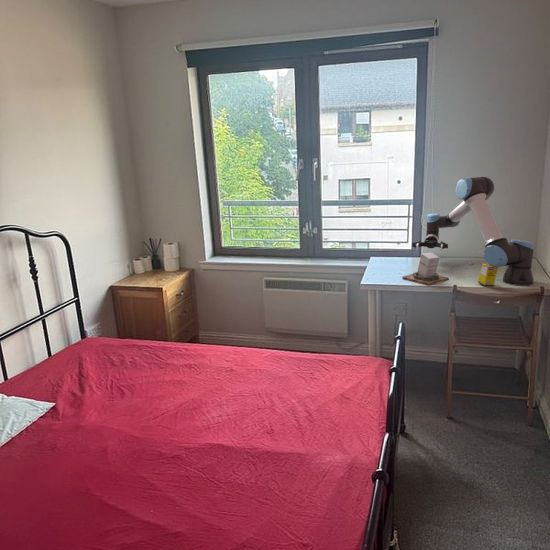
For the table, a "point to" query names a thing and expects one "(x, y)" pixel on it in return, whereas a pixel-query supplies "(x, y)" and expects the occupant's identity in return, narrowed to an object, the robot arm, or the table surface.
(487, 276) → the supplement box
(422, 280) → the mount plate
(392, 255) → the table surface
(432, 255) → the supplement box
